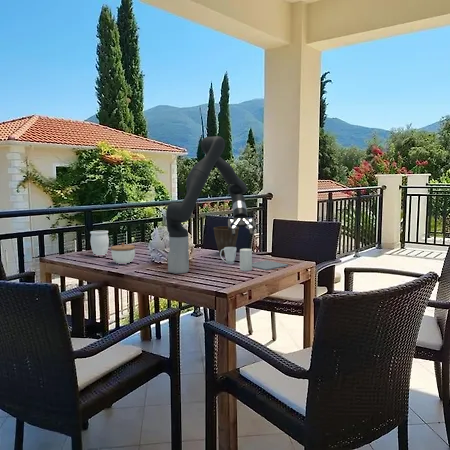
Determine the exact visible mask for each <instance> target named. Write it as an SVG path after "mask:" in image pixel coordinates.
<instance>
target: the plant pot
mask: <svg viewBox="0 0 450 450" xmlns="http://www.w3.org/2000/svg"><path fill="white" fill-rule="evenodd" d="M232 226H233V225H232ZM232 226H231V227H232ZM239 230H240V227H237V228H236V229H235V236H234V235H232V230H228V225H225V226H214V227H213V233H214V239H215V243H216V246H217V250H218V253H219V254H220V251H221V250H222V249H224V248H225V247H236V245H237V240H238V236H239ZM221 256H225V253H224V250H222V252H221Z"/></svg>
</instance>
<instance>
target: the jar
mask: <svg viewBox="0 0 450 450" xmlns="http://www.w3.org/2000/svg"><path fill="white" fill-rule="evenodd" d="M108 233H109V230H105V229H103V230H101V229H100V230H99V229H98V230H92V231H89V234H90V240H89V242H90V246H91V250H92V253H93V255H94V254H96V255H105V254H107V255H108V251H109V246H110V245H109V244H110V239H109V234H108Z"/></svg>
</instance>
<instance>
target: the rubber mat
mask: <svg viewBox="0 0 450 450" xmlns="http://www.w3.org/2000/svg"><path fill="white" fill-rule="evenodd" d="M288 265H289V264H288V263H287V264H286V263H282V262H276V261H272V260H271V261H270V260H268V259H267V260H261V261H256V262H252V269H253V268H254V269H257V270H263V271H269V270H275V269H280V267H281V268H286V267H289V266H288ZM285 266H286V267H285Z"/></svg>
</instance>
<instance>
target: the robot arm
mask: <svg viewBox="0 0 450 450" xmlns="http://www.w3.org/2000/svg"><path fill="white" fill-rule="evenodd" d="M225 142H226V141H225V139H224V138H223V137H222V136H216V135H214V136H206V137H204V138H203V139H201V142H200V145H201V146H200V148H201V150H202V152H203V153H204V155H205V156H204V157H203V158H202V159H200V160H199V161H198V162H197V163H196V164H194V166H192V167H191V170H190V172H189V173H188V175H187V178H186V180H185V181H186V182H185V183H186V184H185V185H186V194H185V196H184V198H183V200H182V201H181V202H171V203H169V204H168V205H167V206H166V207H167V208H166V211H165V215H166V216H165V217H166V219H165V220H166V230H167V233H168V247H169V250H168V252H167V272H168V273H171V274H186V273H188V272H190V256H189V255H190V253H189V231H188V229H187V228H185V226H183V225H182V223H187V222H188V221H189V220H190V219H191V216H192V214H193V212H194V209H195V207H196V204H197V201H198V199H199V197H200V195H201V192H202V190H203V188H204V187H205V185H206V183H207V181H208V179H209V177H210V174H211V172H212V170H213V169H214V168H216V169H217V170H218V171H219V173H220V174H221V176H222V178H223V180H224V181H225V183H226V185H228V187H227V193H228V194H229V196H230V198H231V202H232V216H233V219H231V218H228V219H227V226H228V230H232V235H234V236H235V229H236V228H237V227H239V228H246V229H248V231H249V236H250V237H252V235H253V233H254V231H253V230H255V229H256V225H257V224H256V221H255V218H253V217H251V218H250V219H249V217H248V216H249V215H248V209H247V205H246V198H245V196H244V195H243V194H245V193H247V190H248V189H247V184H245V182H244V181H243V180H242V179H241V178H240V177H239V176H238V175H237V174H236V172H235V169H234V168H233V167H232V166H231V165H230V164H229V162H227V161H226V160H224V159H223V158H222V154H223V153H224V150H225V147H226V143H225ZM214 166H215V167H214ZM232 224H233V225H232ZM231 225H232V227H231Z"/></svg>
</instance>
